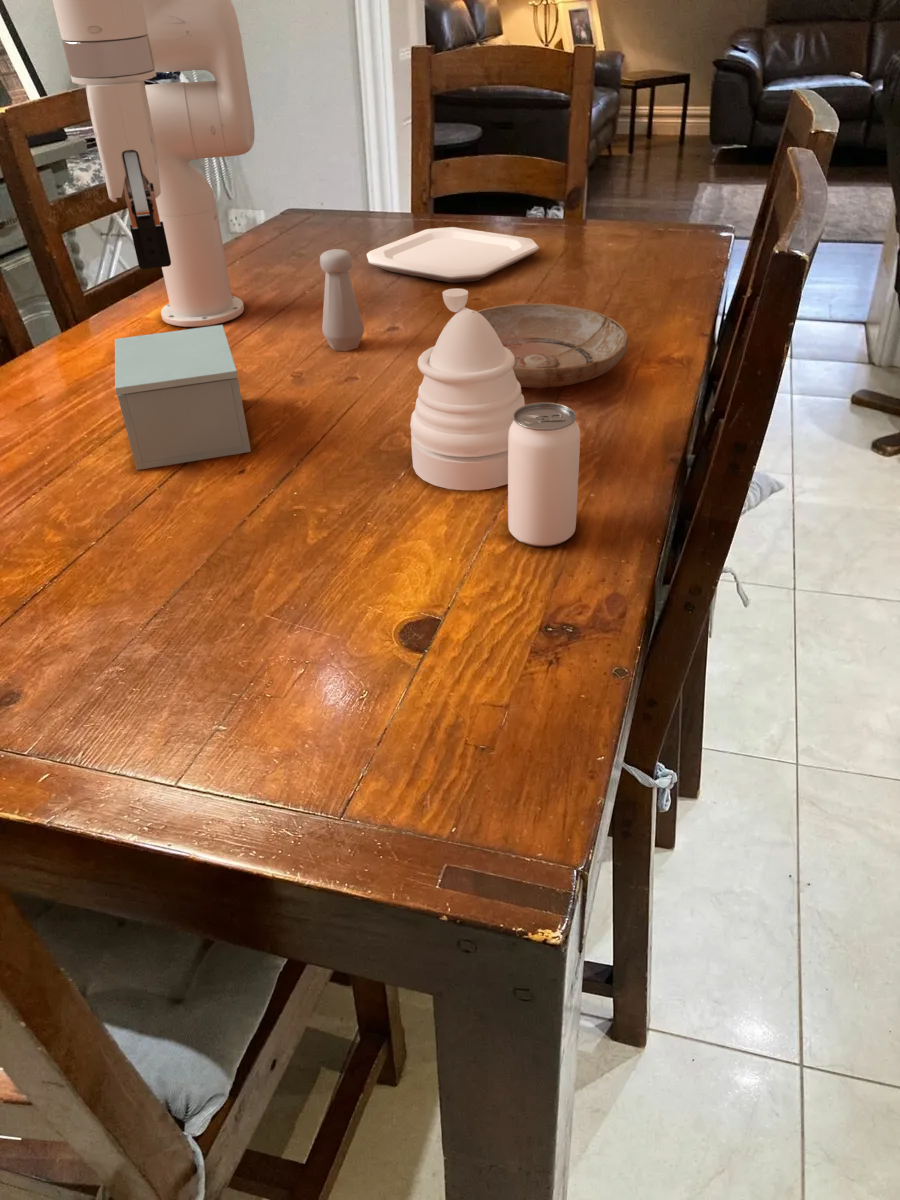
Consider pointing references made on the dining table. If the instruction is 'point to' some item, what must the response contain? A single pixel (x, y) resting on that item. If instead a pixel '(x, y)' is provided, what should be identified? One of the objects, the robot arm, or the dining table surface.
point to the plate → (452, 254)
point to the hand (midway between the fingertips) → (155, 265)
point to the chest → (185, 423)
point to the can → (543, 474)
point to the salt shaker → (340, 302)
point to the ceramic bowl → (557, 342)
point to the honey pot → (464, 403)
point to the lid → (172, 359)
